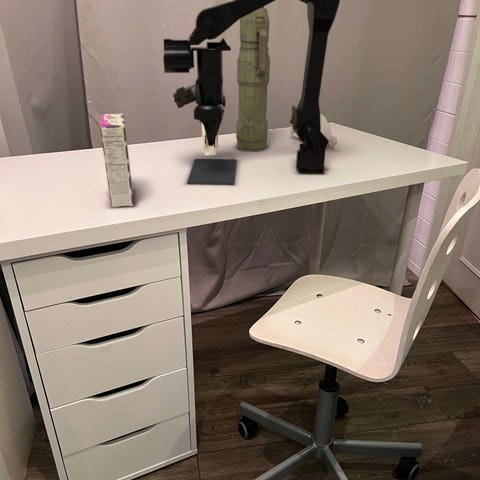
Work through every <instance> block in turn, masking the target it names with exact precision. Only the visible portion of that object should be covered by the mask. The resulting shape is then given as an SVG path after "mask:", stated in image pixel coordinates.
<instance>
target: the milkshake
mask: <svg viewBox="0 0 480 480" xmlns="http://www.w3.org/2000/svg"><path fill="white" fill-rule="evenodd" d="M199 122H200V121H199ZM200 132H201V138H202V140H201V141H202V150H203V155H204V156H207V157H211V156H212V157H213V156H217V155H218V150H219V149H218V147H219V145H218V144H219V132H218V133H217V136H216V139H215V142H214V145H213V146H209V145H208V141H207V137H206V133H205V129H204V125H203V124H202V123H201V122H200Z"/></svg>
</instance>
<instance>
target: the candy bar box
mask: <svg viewBox="0 0 480 480" xmlns="http://www.w3.org/2000/svg"><path fill="white" fill-rule="evenodd" d="M99 121H100V123H99V124H100V125H99V130H100V136H101V144H102V145H101V146H102V151H103V160H104V165H105V172H106V179H107V187H108V195H109V202H110V207H111V208H113V209H114V208H115V209H118V208H128V207H135V204H134V203H135V202H134V190H133V183H132V173H131V162H130V156H129V155H130V154H129V147H128V137H127V129H126V122H125V115H124V113H109V114H108V113H104V114H100V120H99Z"/></svg>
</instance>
